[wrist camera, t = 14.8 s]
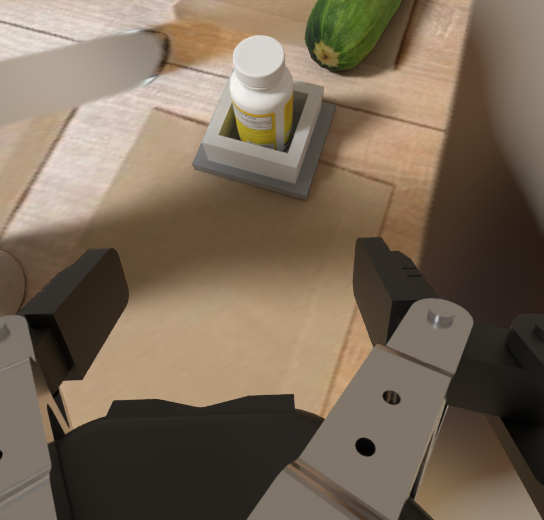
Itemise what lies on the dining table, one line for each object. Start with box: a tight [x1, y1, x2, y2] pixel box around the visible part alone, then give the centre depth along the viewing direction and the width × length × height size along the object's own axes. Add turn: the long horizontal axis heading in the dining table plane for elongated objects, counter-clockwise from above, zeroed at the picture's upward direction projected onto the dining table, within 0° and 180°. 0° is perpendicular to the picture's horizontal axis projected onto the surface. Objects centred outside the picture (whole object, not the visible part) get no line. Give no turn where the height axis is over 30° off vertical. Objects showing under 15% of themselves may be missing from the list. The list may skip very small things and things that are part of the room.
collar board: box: [192, 68, 336, 200], centre depth 35 cm, size 12×11×4 cm
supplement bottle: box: [230, 35, 293, 152], centre depth 31 cm, size 5×5×10 cm
